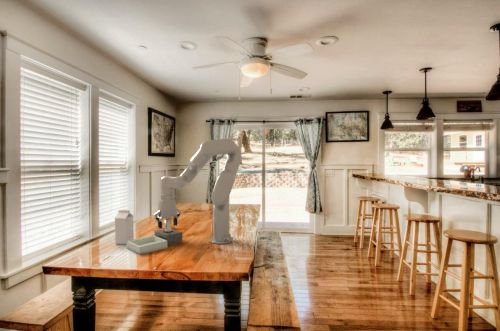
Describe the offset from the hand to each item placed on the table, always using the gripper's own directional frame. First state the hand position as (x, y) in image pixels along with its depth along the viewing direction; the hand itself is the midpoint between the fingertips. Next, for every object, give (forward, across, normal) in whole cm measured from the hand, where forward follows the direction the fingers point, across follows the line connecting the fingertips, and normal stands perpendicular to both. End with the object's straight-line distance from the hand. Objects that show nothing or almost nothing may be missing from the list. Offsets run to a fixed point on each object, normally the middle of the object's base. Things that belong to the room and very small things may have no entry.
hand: (167, 226), depth 166 cm
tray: (+9, +14, +2) cm, 17 cm away
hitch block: (+9, 0, 0) cm, 9 cm away
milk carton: (+9, +18, -18) cm, 27 cm away
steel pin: (+9, 0, 0) cm, 9 cm away
